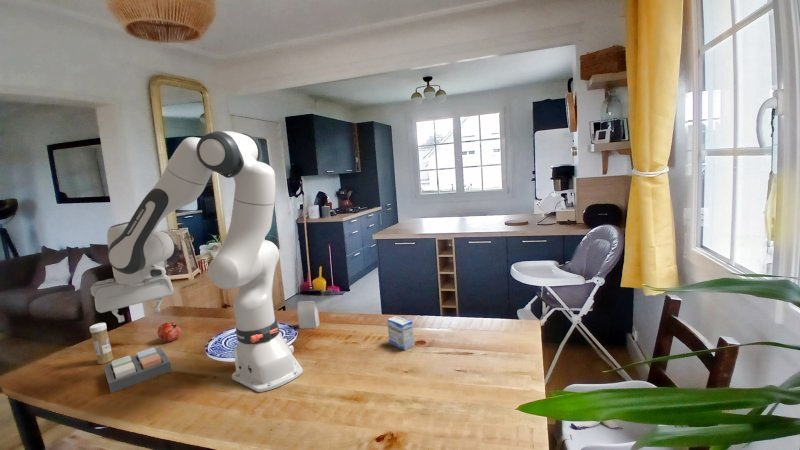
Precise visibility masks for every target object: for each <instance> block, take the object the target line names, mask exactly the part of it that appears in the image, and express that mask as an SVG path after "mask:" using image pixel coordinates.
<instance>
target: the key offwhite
mask: <svg viewBox="0 0 800 450" xmlns="http://www.w3.org/2000/svg"><path fill="white" fill-rule="evenodd" d="M113 369H114V373H115V377H116V379H118V378H120V377H123V376H126V375H129V374H132V373H135V372H136V369H135V366H134V364H133V362H131V363H128V364H125V365H122V366H119V367H116V368H113Z"/></svg>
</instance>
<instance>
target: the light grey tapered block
mask: <svg viewBox="0 0 800 450" xmlns="http://www.w3.org/2000/svg"><path fill="white" fill-rule="evenodd" d="M318 309H319V308H318V307H317V304H316V301H315V300H310V301H309V300H307V301H297V312H296V313H297V321H298V329H301V330H302V329H317V328H318V327H319V326H320V315H319V310H318Z"/></svg>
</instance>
